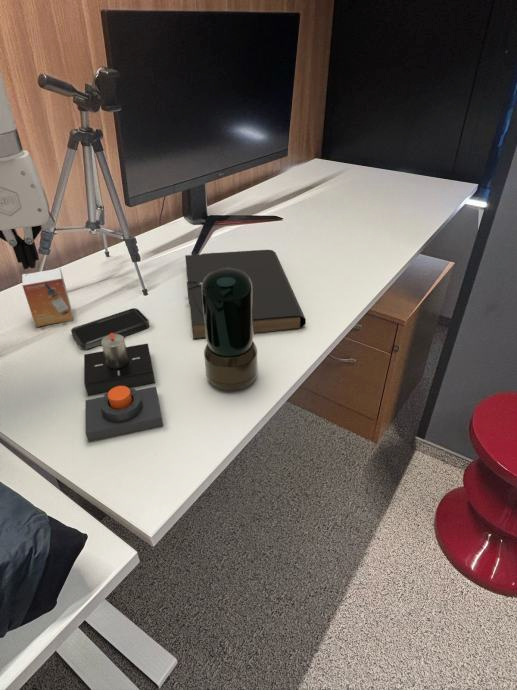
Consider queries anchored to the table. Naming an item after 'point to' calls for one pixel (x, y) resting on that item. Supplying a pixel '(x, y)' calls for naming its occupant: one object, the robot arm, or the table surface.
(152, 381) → the dial panel
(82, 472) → the table surface
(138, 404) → the button block
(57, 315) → the small box
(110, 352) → the dial
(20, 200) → the robot arm
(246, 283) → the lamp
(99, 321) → the phone
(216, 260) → the dark brown book
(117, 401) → the button
